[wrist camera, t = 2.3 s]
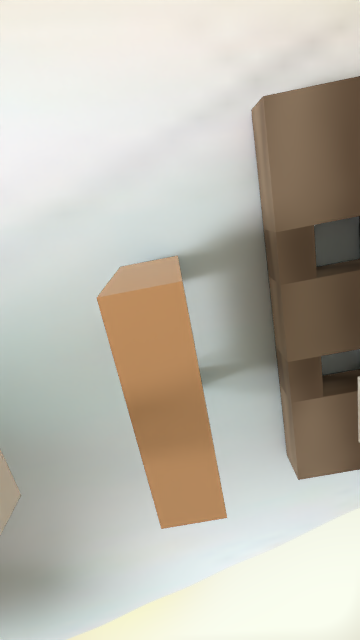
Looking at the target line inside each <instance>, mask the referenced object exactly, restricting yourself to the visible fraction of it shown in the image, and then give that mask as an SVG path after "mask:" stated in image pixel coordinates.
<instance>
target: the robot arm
mask: <svg viewBox="0 0 360 640" xmlns="http://www.w3.org/2000/svg"><path fill="white" fill-rule="evenodd" d="M358 441H359V442H360V376H359V377H358ZM20 496H21V494H20V492H19V489H18V487H17V485H16V483H15V481H14V478H13V476H12V474H11V472H10V469H9V467H8V465H7V463H6V461H5V458H4V456H3V454H2V452H1V450H0V535H1V533H2V531H3V529H4V527H5V525H6V523H7V521H8V519H9V518H10V516H11V514H12V512H13V510H14V508H15V506H16V504H17V502H18V500H19V498H20Z"/></svg>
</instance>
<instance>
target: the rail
mask: <svg viewBox="0 0 360 640" xmlns="http://www.w3.org/2000/svg"><path fill="white" fill-rule="evenodd" d="M251 111H252V121H253V130H254V140H255V150H256V159H257V169H258V179H259V189H260V198H261V208H262V218H263V227H264V237H265V247H266V257H267V266H268V276H269V286H270V295H271V305H272V315H273V325H274V334H275V344H276V354H277V363H278V373H279V383H280V393H281V402H282V412H283V422H284V431H285V441H286V451H287V456H288V458H289V461H290V463H291V465H292V467H293V469H294V471H295V473H296V476H297V478H298V480H300V479H306V478H312V477H318V476H324V475H329V474H335V473H341V472H347V471H353V470H359V469H360V442H359V441H358V377H359V376H360V369H358V370H352V371H346V372H341V373H335V374H330V375H324V376H322V362H321V356H324V355H330V354H335V353H341V352H346V351H352V350H357V349H360V259H356V260H351V261H346V262H341V263H335V264H330V265H325V266H320V267H316V252H315V234H314V225H316V224H321V223H326V222H332V221H337V220H342V219H347V218H352V217H357V216H359V219H360V76H358V77H354V78H349V79H344V80H339V81H334V82H330V83H325V84H320V85H315V86H311V87H306V88H301V89H296V90H291V91H287V92H282V93H277V94H272V95H267V96H263V97H262V98H261V100H260V101H259V102H258V103H257V104H256V105H255V106H254V107H253V109H252V110H251Z"/></svg>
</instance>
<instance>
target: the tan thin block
mask: <svg viewBox="0 0 360 640" xmlns="http://www.w3.org/2000/svg"><path fill="white" fill-rule="evenodd" d="M97 301H98V304H99V308H100V311H101V315H102V319H103V322H104V326H105V329H106V333H107V336H108V340H109V344H110V347H111V351H112V354H113V358H114V361H115V365H116V368H117V372H118V376H119V379H120V383H121V386H122V390H123V393H124V397H125V401H126V404H127V408H128V411H129V415H130V418H131V422H132V426H133V429H134V433H135V436H136V440H137V443H138V447H139V450H140V454H141V458H142V461H143V465H144V468H145V472H146V475H147V479H148V483H149V486H150V490H151V493H152V497H153V500H154V504H155V508H156V511H157V515H158V518H159V522H160V525H161V529H164V528H169V527H175V526H181V525H187V524H193V523H199V522H205V521H211V520H217V519H223V518H227V515H226V509H225V504H224V499H223V493H222V488H221V482H220V477H219V472H218V466H217V461H216V456H215V450H214V445H213V439H212V434H211V429H210V423H209V418H208V413H207V408H206V402H205V397H204V392H203V386H202V381H201V376H200V371H199V365H198V360H197V355H196V350H195V344H194V339H193V334H192V329H191V323H190V318H189V313H188V307H187V302H186V297H185V292H184V286H183V281H182V276H181V271H180V265H179V260H178V256H173V257H168V258H163V259H158V260H152V261H147V262H142V263H137V264H132V265H127V266H122V267H120V268H119V269H118V270H117V272H116V273H115V274H114V276H113V277H112V278H111V280H110V281H109V282H108V283H107V285H106V286H105V287H104V289H103V290H102V291H101V293H100V294H99V295H98V297H97Z"/></svg>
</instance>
